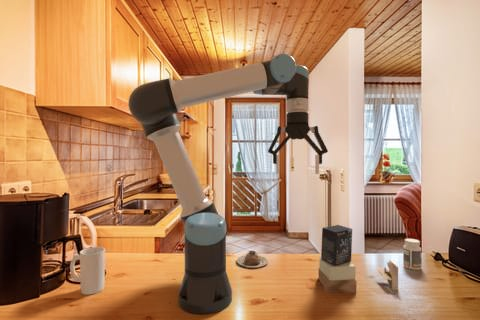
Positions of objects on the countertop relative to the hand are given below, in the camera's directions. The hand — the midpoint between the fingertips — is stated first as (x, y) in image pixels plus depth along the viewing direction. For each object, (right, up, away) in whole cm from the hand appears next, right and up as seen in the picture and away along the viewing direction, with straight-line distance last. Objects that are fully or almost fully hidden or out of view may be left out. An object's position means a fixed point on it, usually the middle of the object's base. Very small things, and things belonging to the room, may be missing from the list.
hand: (297, 173), depth 93 cm
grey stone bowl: (-15, -35, +10) cm, 40 cm away
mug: (-66, -35, -12) cm, 76 cm away
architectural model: (+28, -36, -9) cm, 46 cm away
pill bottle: (+44, -35, +5) cm, 56 cm away
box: (+11, -27, -9) cm, 31 cm away
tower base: (+11, -35, -8) cm, 38 cm away
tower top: (+11, -31, -9) cm, 34 cm away
